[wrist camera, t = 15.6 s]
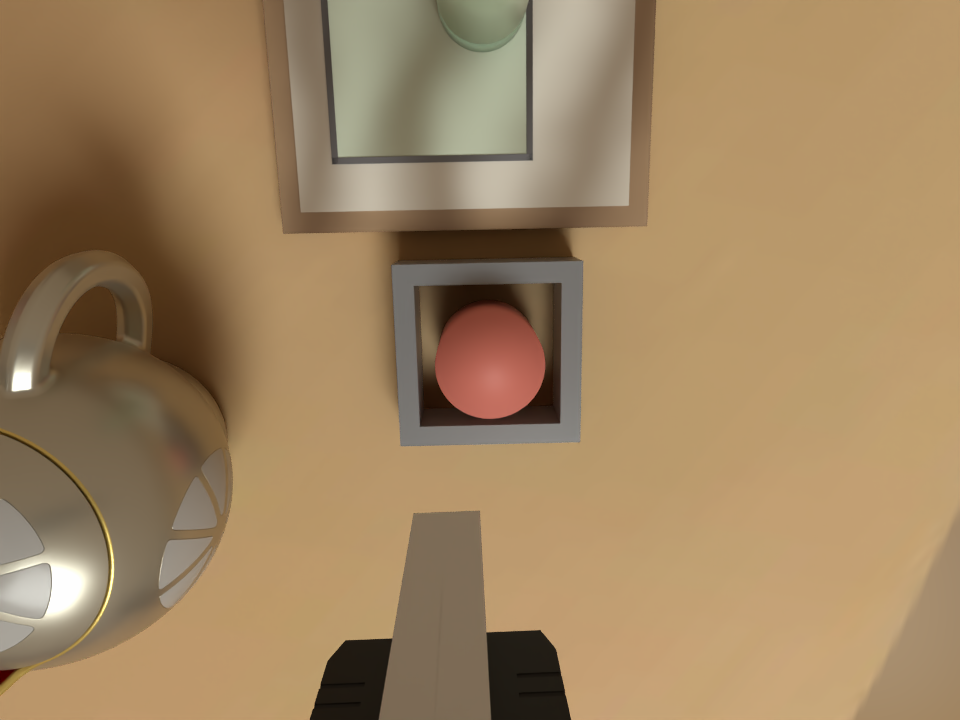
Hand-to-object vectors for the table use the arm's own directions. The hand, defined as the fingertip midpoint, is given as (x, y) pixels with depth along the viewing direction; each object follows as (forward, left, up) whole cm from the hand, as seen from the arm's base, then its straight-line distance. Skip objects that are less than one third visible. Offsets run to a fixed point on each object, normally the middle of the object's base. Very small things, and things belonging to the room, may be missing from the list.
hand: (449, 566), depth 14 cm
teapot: (-17, -2, -20) cm, 26 cm away
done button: (+1, +1, -19) cm, 19 cm away
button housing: (+1, +1, -20) cm, 20 cm away
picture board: (0, +15, -20) cm, 25 cm away
